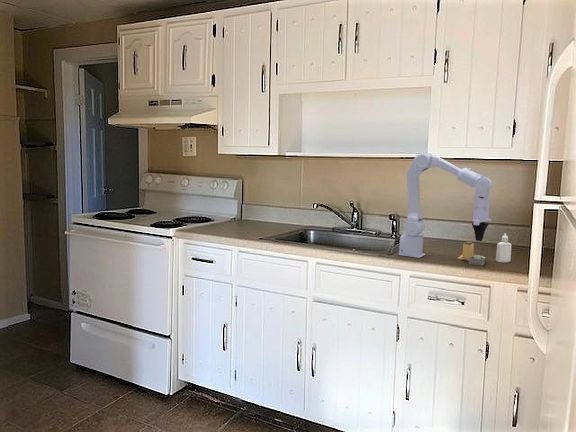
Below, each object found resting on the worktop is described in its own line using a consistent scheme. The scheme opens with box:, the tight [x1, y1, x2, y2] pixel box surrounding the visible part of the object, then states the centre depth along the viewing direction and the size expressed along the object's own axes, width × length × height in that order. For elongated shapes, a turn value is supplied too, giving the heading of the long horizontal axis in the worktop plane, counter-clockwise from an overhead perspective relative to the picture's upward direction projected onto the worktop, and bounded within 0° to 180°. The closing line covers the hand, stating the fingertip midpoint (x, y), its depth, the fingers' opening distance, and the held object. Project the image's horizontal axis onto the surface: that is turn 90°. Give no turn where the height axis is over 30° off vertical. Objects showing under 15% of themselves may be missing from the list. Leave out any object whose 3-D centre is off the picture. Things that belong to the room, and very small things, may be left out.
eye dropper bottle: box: [495, 232, 512, 264], centre depth 198 cm, size 4×6×12 cm
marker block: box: [461, 241, 475, 258], centre depth 202 cm, size 4×4×6 cm
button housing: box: [468, 256, 486, 266], centre depth 194 cm, size 5×5×2 cm
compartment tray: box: [456, 253, 487, 262], centre depth 203 cm, size 10×10×1 cm
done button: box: [473, 254, 482, 259], centre depth 194 cm, size 3×3×3 cm
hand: (478, 240), depth 194 cm, fingers closed
